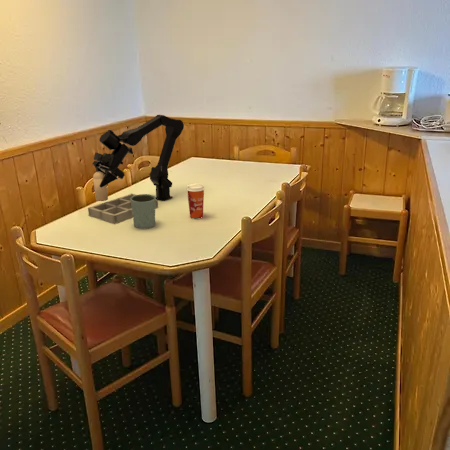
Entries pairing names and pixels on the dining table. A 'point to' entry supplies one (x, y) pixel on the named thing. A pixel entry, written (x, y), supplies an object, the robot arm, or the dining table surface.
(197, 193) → the paper cup
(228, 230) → the dining table surface
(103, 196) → the beige capped bottle
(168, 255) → the dining table surface
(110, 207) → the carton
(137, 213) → the grey green pot
